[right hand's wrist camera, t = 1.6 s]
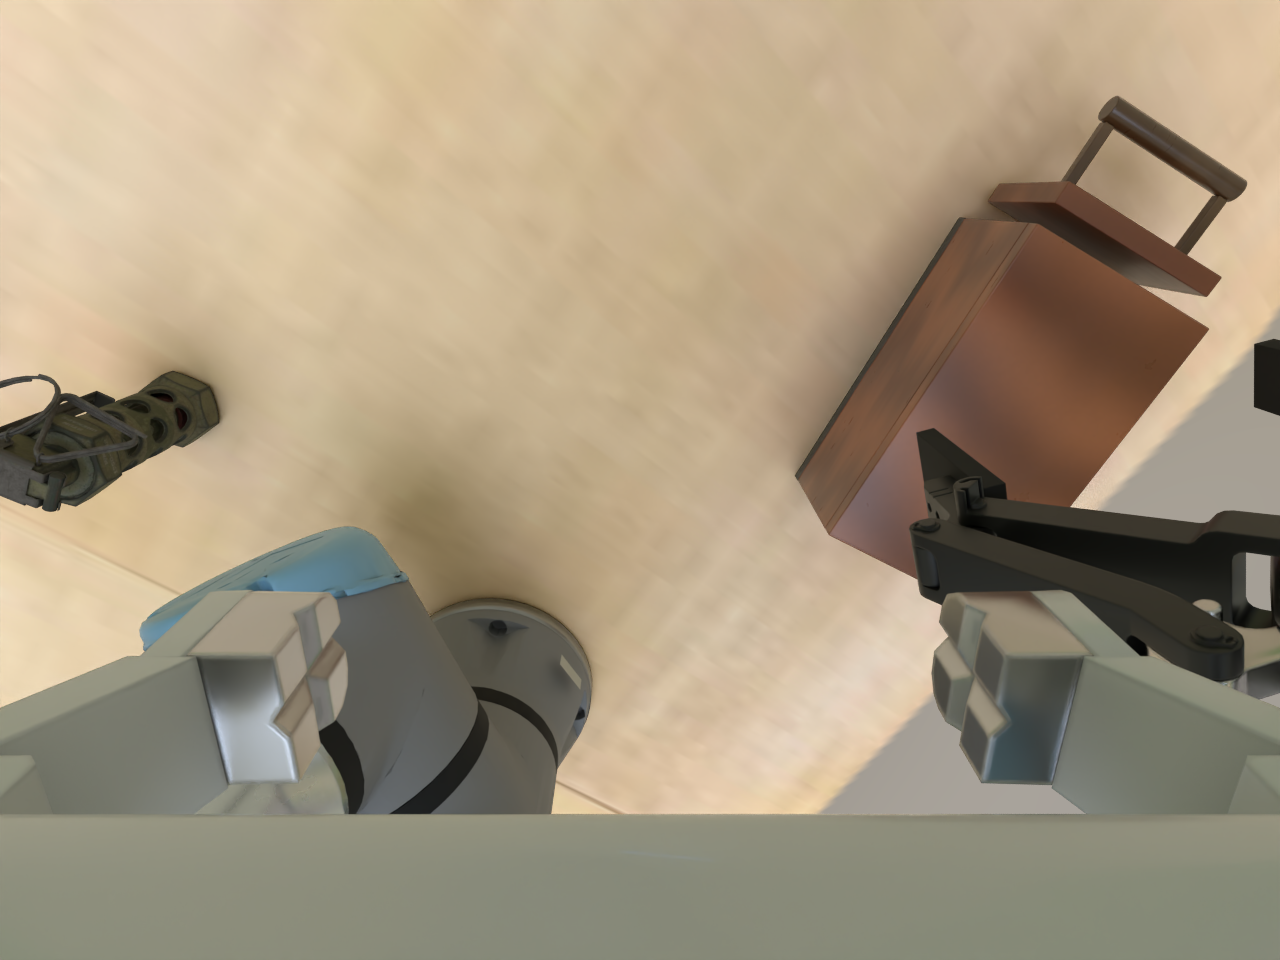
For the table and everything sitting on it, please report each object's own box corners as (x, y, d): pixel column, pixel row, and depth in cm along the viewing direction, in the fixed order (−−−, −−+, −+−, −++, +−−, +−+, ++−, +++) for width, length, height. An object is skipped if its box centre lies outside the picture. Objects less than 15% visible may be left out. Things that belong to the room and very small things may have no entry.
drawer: (1051, 100, 45) (1136, 80, 37) (1185, 187, 47) (1293, 185, 39) (835, 437, 52) (868, 479, 45) (957, 502, 54) (1010, 553, 46)
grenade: (248, 380, 52) (101, 449, 38) (225, 453, 53) (77, 545, 39) (118, 323, 50) (-85, 372, 36) (99, 399, 52) (-101, 474, 38)
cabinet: (959, 217, 48) (1038, 222, 39) (1102, 303, 50) (1210, 328, 40) (794, 475, 54) (827, 535, 45) (927, 543, 56) (986, 614, 47)
